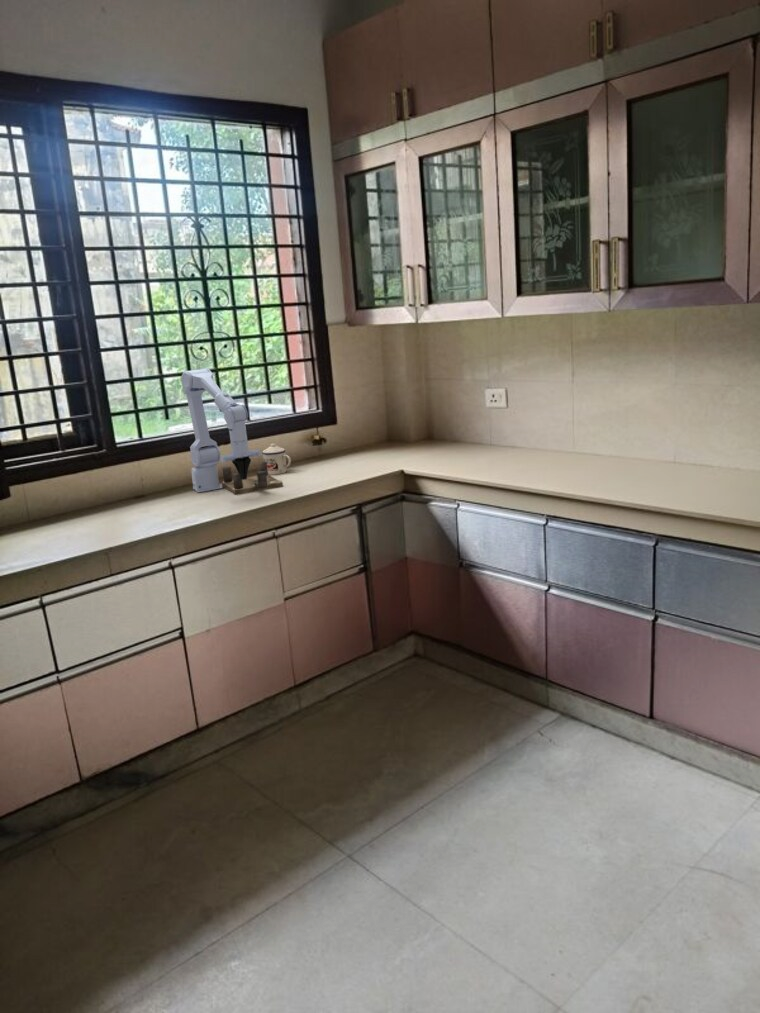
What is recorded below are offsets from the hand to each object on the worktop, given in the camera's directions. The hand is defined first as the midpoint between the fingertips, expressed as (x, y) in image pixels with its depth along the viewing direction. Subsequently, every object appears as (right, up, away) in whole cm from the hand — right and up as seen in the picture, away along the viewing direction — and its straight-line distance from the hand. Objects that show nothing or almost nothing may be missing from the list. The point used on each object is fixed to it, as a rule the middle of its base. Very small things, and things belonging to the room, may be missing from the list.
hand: (243, 479), depth 272 cm
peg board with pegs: (0, -2, +17) cm, 17 cm away
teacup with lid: (+8, +4, +38) cm, 39 cm away
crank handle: (+5, -2, +7) cm, 9 cm away
